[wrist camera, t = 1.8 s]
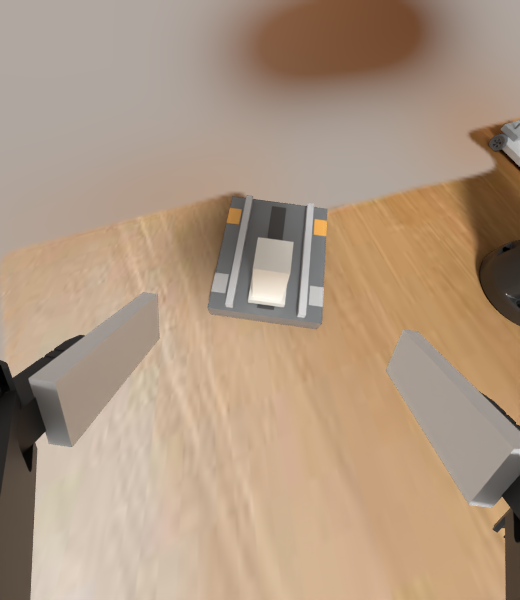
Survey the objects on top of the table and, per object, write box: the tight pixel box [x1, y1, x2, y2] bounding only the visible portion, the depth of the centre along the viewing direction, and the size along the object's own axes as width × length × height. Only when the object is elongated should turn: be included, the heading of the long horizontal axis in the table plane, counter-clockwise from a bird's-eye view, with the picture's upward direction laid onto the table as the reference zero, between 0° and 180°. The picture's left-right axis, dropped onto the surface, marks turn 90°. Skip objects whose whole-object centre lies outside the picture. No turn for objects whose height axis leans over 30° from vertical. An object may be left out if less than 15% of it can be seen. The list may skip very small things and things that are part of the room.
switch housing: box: [208, 195, 327, 329], centre depth 39 cm, size 16×20×4 cm
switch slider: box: [248, 237, 294, 307], centre depth 31 cm, size 5×5×9 cm
